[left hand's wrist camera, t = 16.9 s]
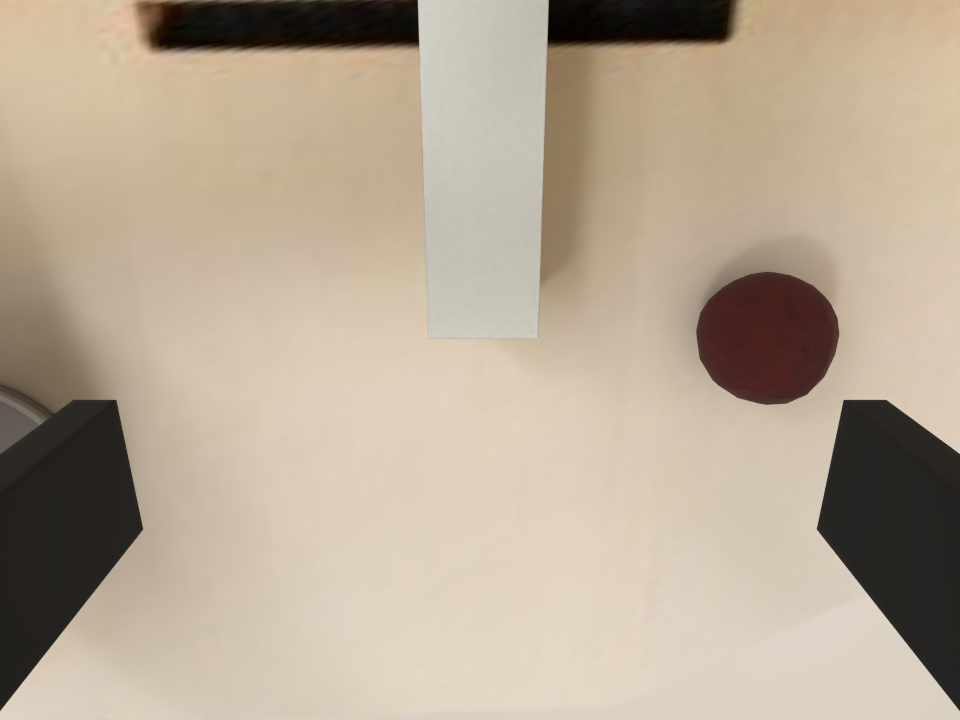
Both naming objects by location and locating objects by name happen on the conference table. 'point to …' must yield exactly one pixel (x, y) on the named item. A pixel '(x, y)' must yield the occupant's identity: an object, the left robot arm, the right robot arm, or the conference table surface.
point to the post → (483, 164)
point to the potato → (767, 337)
